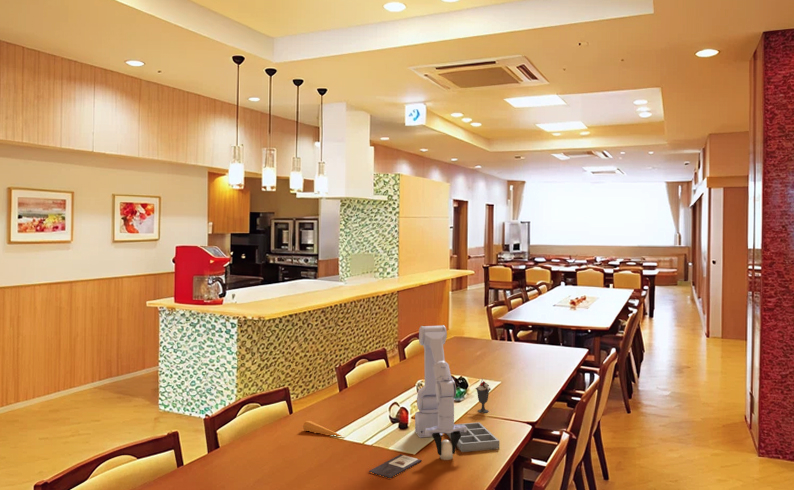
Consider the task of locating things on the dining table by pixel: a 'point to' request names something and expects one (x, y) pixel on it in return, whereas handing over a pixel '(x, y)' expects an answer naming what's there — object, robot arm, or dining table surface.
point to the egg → (446, 450)
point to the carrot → (317, 428)
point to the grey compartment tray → (476, 438)
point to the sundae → (483, 395)
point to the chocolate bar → (395, 466)
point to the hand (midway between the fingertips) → (446, 453)
